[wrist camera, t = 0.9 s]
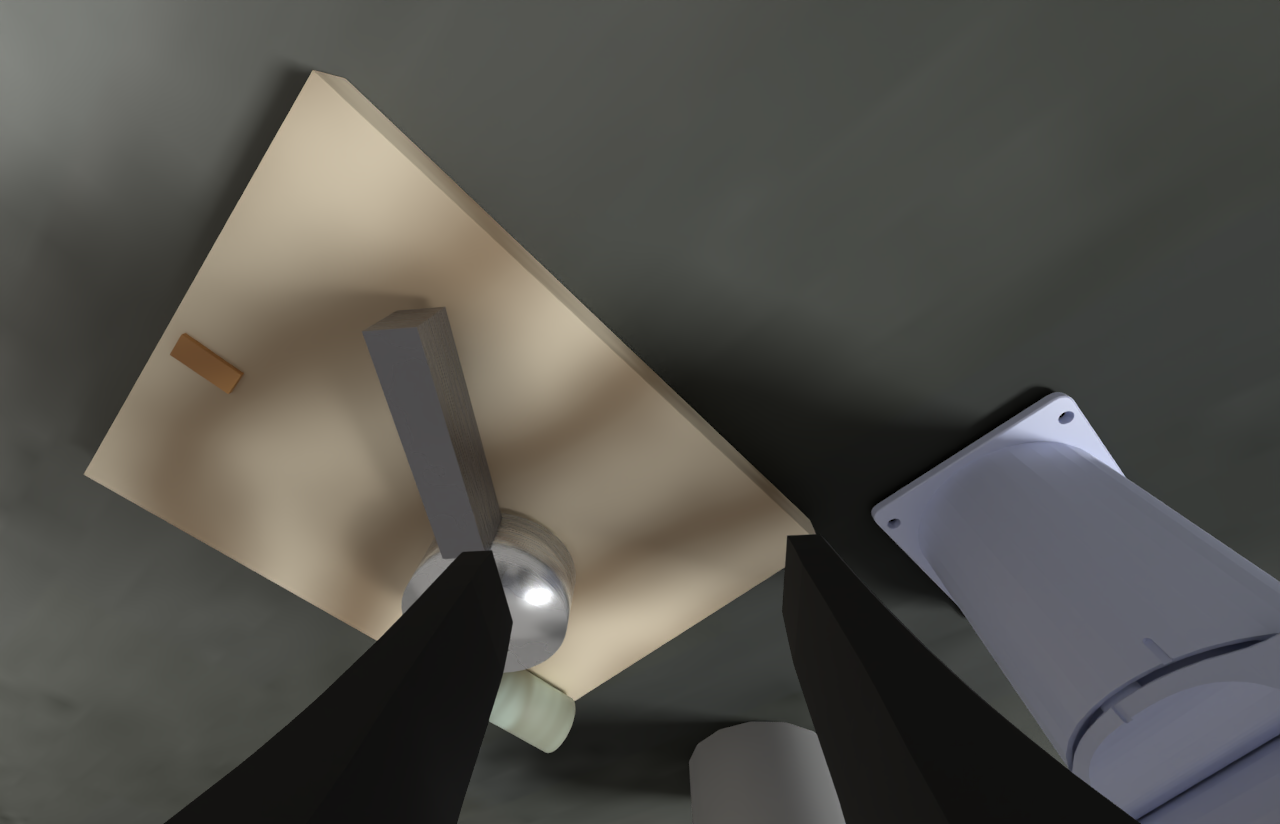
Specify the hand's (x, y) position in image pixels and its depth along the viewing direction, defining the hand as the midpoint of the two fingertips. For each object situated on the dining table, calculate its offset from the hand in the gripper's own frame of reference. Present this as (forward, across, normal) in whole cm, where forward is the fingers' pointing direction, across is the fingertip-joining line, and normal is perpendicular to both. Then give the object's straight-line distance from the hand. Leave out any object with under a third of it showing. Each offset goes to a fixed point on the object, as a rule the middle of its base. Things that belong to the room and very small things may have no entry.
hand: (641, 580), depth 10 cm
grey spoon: (+8, +6, +3) cm, 10 cm away
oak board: (+9, +8, +4) cm, 13 cm away
